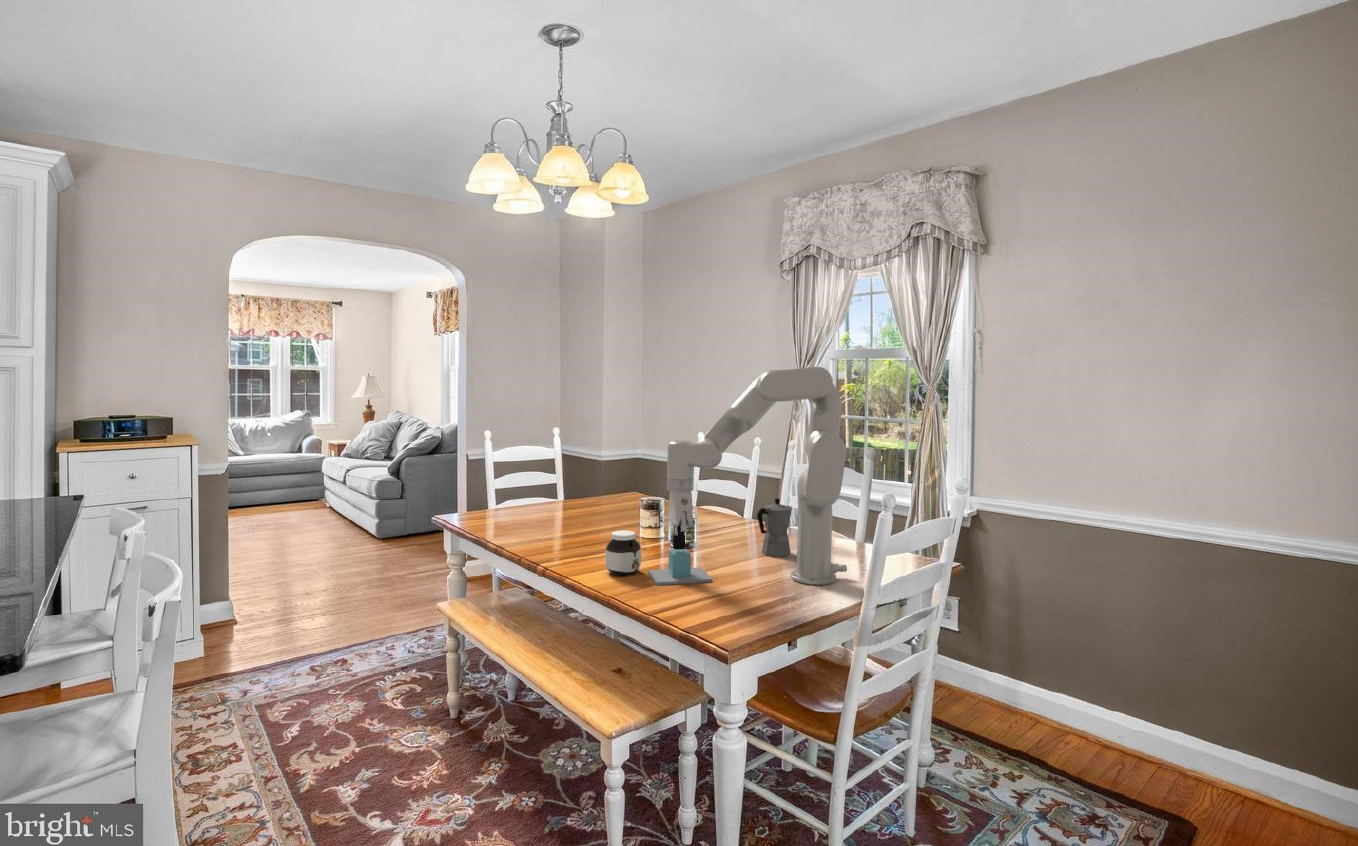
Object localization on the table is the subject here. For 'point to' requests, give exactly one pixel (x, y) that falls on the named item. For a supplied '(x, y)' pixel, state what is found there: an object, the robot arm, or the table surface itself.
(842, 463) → the robot arm
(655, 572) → the stand
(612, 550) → the spread jar
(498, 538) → the table surface
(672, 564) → the teal block
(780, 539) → the coffeepot
